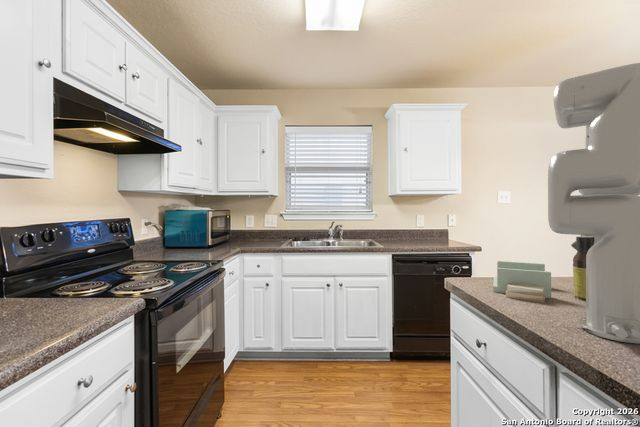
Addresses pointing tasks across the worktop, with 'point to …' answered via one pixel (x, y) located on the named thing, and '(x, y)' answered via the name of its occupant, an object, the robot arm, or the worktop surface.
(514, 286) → the ash offcut
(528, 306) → the worktop surface
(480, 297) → the worktop surface
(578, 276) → the sauce bottle
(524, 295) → the birch offcut
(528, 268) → the rack
